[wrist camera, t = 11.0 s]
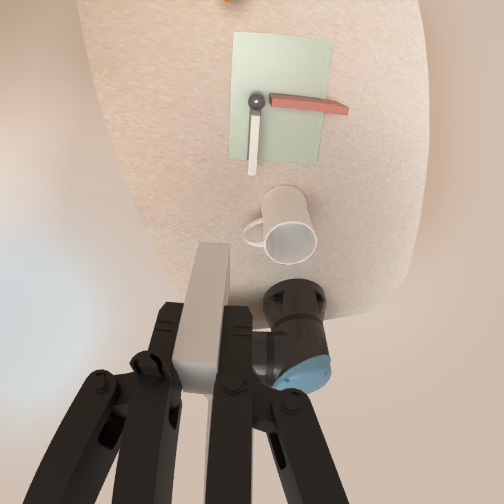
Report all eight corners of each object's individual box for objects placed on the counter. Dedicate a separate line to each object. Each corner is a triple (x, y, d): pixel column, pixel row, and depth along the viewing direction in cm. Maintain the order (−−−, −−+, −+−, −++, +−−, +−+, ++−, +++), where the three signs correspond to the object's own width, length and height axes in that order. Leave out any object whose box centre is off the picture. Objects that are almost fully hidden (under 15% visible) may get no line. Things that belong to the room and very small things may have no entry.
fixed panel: (255, 160, 45) (256, 175, 39) (248, 160, 45) (247, 175, 39) (259, 108, 39) (260, 115, 34) (251, 108, 39) (251, 115, 34)
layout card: (316, 165, 46) (316, 165, 45) (228, 158, 45) (228, 159, 45) (331, 42, 32) (331, 42, 32) (234, 32, 32) (233, 31, 31)
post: (262, 103, 39) (264, 110, 33) (248, 103, 39) (247, 109, 33) (263, 90, 38) (265, 95, 31) (249, 90, 38) (248, 94, 31)
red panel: (269, 101, 38) (271, 107, 33) (269, 94, 38) (272, 98, 32) (334, 108, 38) (347, 115, 33) (335, 101, 38) (348, 107, 32)
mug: (248, 230, 54) (246, 272, 45) (239, 191, 49) (234, 227, 39) (308, 222, 53) (319, 262, 43) (304, 181, 48) (317, 215, 38)
